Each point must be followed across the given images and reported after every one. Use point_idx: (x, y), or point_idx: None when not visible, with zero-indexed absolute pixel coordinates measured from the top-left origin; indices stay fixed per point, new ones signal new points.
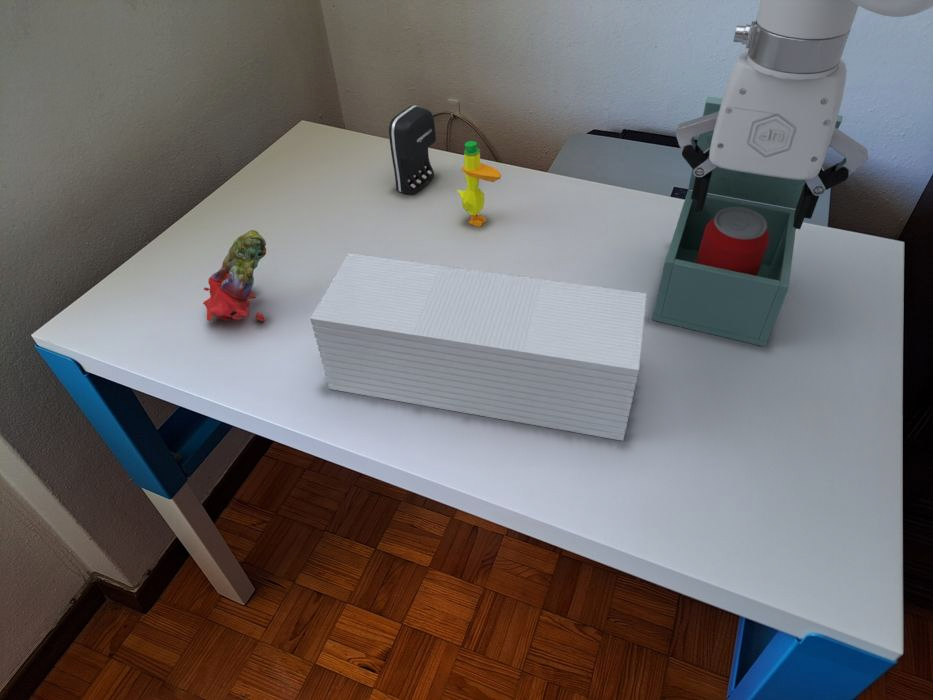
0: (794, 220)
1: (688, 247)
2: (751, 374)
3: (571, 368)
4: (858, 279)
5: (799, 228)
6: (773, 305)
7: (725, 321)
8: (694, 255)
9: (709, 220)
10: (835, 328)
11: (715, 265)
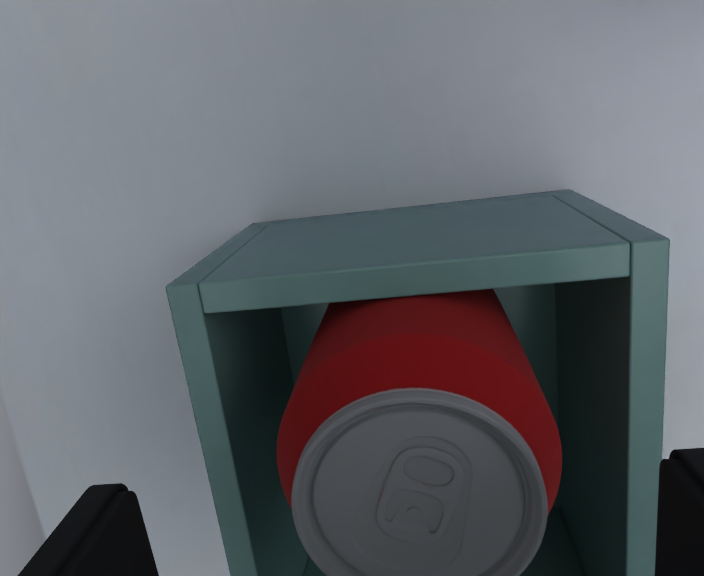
0: (131, 534)
1: None
2: (253, 100)
3: None
4: None
5: (95, 485)
6: (223, 258)
7: (363, 222)
8: None
9: None
10: (120, 366)
11: (454, 303)
